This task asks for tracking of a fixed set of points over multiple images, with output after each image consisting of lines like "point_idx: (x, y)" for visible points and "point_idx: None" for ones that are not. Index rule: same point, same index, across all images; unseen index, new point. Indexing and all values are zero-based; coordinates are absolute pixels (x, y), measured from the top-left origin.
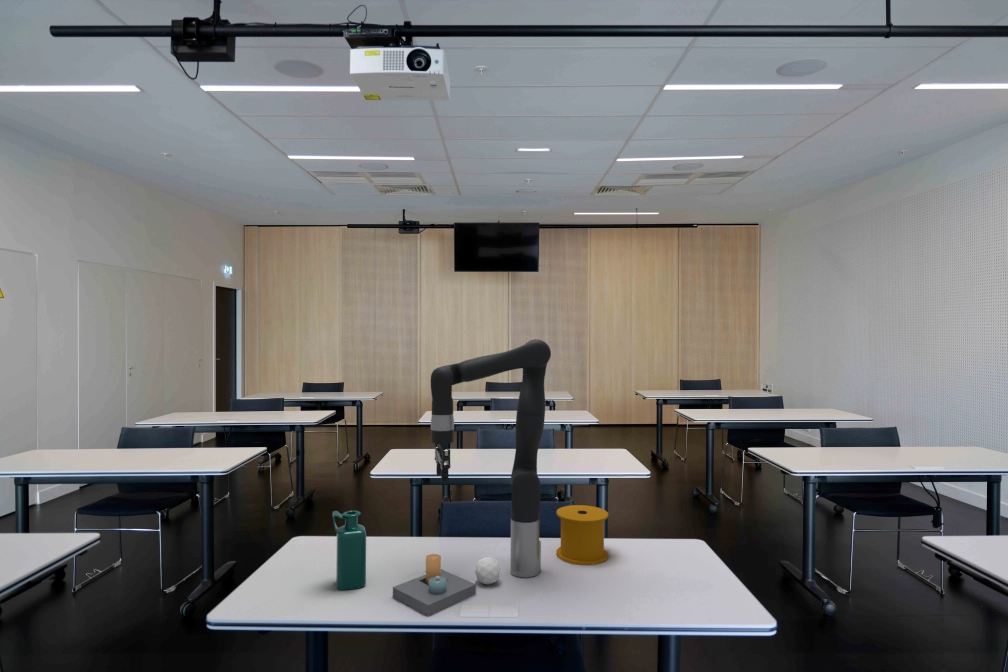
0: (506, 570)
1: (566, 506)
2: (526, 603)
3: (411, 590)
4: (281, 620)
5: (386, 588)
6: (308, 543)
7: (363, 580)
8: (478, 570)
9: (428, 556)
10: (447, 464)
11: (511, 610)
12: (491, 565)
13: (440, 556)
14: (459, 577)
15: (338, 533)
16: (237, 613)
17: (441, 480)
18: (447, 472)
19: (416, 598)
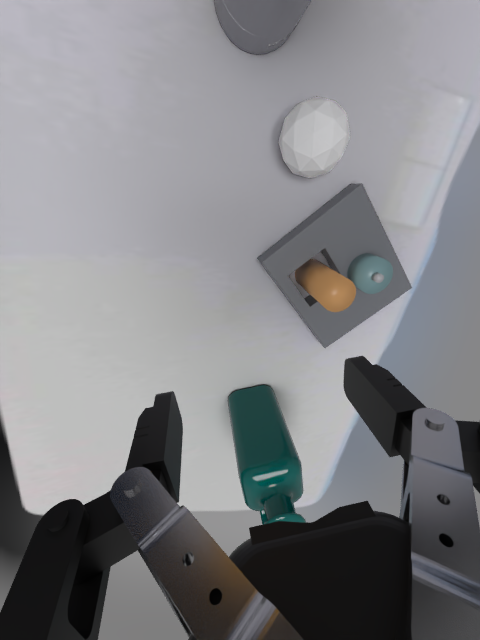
0: (236, 65)
1: None
2: (430, 58)
3: (347, 317)
4: (340, 452)
5: (280, 352)
6: (62, 497)
7: (272, 393)
8: (330, 170)
9: (332, 306)
10: (456, 455)
11: (442, 110)
12: (347, 127)
13: (341, 278)
14: (317, 220)
15: (292, 503)
16: (308, 493)
17: (347, 393)
18: (416, 399)
19: (381, 307)
